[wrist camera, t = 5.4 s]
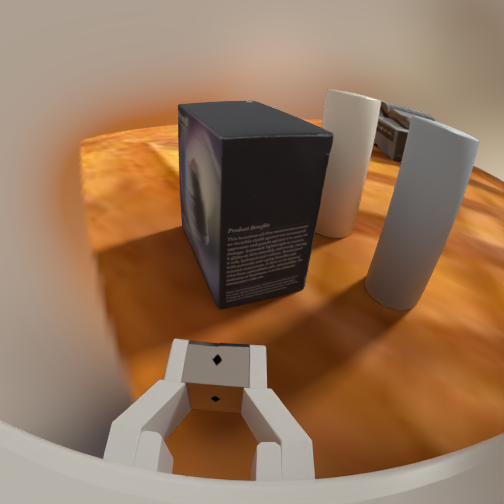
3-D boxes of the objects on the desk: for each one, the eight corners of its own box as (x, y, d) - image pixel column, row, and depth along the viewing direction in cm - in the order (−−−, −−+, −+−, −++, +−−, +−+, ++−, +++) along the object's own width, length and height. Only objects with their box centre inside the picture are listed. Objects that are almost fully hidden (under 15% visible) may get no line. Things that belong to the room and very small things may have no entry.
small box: (176, 225, 26) (173, 101, 20) (247, 215, 28) (256, 99, 22) (213, 313, 18) (215, 131, 12) (307, 290, 20) (340, 132, 14)
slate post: (366, 264, 23) (407, 112, 16) (416, 279, 22) (467, 133, 15) (362, 300, 20) (417, 121, 13) (420, 316, 19) (489, 148, 12)
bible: (430, 148, 71) (437, 115, 65) (472, 184, 49) (485, 139, 43) (351, 128, 73) (357, 92, 68) (368, 156, 51) (378, 105, 46)
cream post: (311, 209, 30) (330, 88, 23) (354, 220, 29) (380, 99, 22) (301, 229, 27) (323, 90, 20) (350, 243, 26) (382, 103, 19)
